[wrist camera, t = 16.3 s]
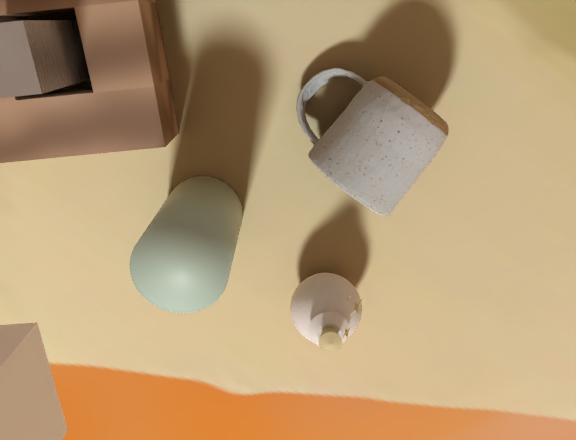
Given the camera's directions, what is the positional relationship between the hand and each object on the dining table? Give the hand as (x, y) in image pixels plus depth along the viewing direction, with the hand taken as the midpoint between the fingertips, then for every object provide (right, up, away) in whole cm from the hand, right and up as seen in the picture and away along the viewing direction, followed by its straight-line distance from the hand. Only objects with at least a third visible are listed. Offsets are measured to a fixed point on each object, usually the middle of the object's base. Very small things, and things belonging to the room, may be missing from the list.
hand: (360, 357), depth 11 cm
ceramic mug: (+4, +10, +32) cm, 33 cm away
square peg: (-18, +16, +29) cm, 38 cm away
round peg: (-9, +3, +34) cm, 35 cm away
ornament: (+2, -3, +37) cm, 37 cm away
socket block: (-18, +16, +29) cm, 38 cm away
